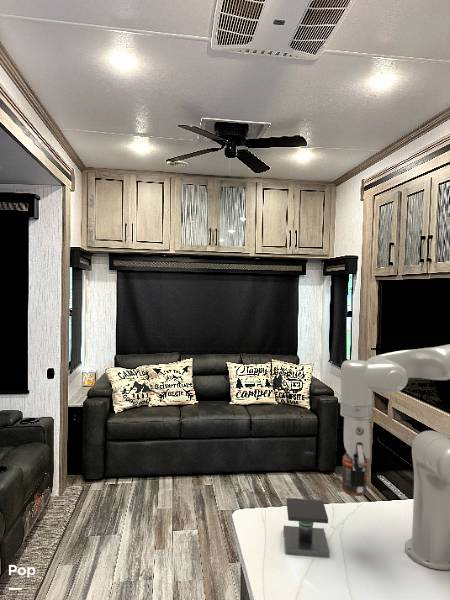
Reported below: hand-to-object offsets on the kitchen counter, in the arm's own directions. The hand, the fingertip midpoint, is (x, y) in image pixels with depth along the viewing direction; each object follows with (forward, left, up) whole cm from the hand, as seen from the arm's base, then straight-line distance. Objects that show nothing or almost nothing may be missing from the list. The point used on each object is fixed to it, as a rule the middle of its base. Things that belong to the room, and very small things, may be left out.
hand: (354, 479), depth 112 cm
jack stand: (+11, -4, -20) cm, 23 cm away
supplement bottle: (0, 0, -3) cm, 3 cm away
